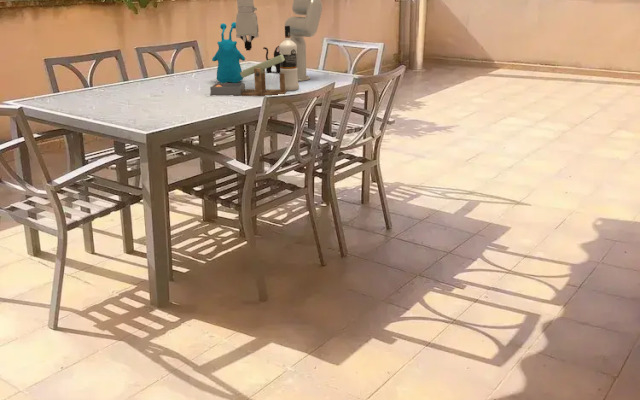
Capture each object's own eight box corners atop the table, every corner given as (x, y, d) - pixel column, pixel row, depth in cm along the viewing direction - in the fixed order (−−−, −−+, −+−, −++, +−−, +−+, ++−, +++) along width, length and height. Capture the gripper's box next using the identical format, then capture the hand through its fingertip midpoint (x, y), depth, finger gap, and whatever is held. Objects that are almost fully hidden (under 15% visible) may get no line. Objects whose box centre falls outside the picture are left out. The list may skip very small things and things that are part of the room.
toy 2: (284, 74, 375) (284, 46, 370) (261, 73, 380) (259, 45, 375) (291, 72, 382) (290, 44, 377) (267, 71, 387) (266, 43, 382)
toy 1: (247, 78, 364) (244, 20, 354) (245, 84, 347) (242, 23, 337) (216, 79, 364) (212, 20, 354) (212, 85, 347) (207, 24, 337)
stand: (286, 91, 327) (285, 64, 323) (283, 96, 317) (282, 68, 313) (246, 91, 329) (245, 65, 325) (241, 95, 319) (239, 68, 315)
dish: (216, 91, 331) (215, 83, 329) (245, 91, 329) (244, 83, 328) (210, 95, 321) (210, 87, 320) (240, 95, 319) (240, 87, 318)
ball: (214, 85, 326) (221, 83, 326) (217, 92, 327) (224, 90, 326) (212, 87, 323) (219, 84, 322) (215, 94, 324) (222, 91, 323)
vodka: (292, 87, 338) (290, 24, 328) (302, 89, 331) (301, 25, 321) (276, 89, 334) (273, 25, 324) (286, 92, 326) (283, 26, 316)
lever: (289, 59, 330) (285, 51, 328) (284, 64, 314) (280, 55, 313) (248, 76, 334) (245, 68, 333) (241, 82, 319) (237, 73, 318)
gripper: (263, 9, 323) (265, 48, 330) (231, 9, 325) (234, 49, 332) (260, 10, 316) (262, 51, 323) (228, 11, 318) (231, 51, 325)
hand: (248, 50), depth 327 cm, fingers closed
